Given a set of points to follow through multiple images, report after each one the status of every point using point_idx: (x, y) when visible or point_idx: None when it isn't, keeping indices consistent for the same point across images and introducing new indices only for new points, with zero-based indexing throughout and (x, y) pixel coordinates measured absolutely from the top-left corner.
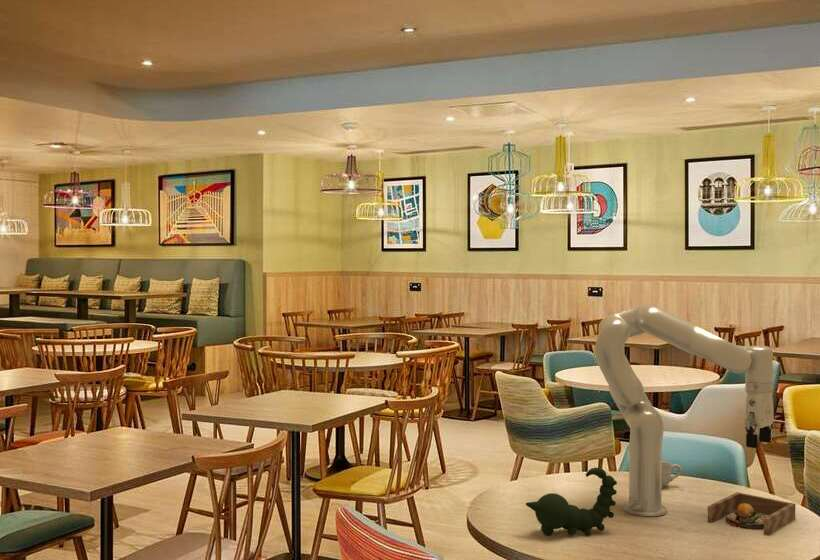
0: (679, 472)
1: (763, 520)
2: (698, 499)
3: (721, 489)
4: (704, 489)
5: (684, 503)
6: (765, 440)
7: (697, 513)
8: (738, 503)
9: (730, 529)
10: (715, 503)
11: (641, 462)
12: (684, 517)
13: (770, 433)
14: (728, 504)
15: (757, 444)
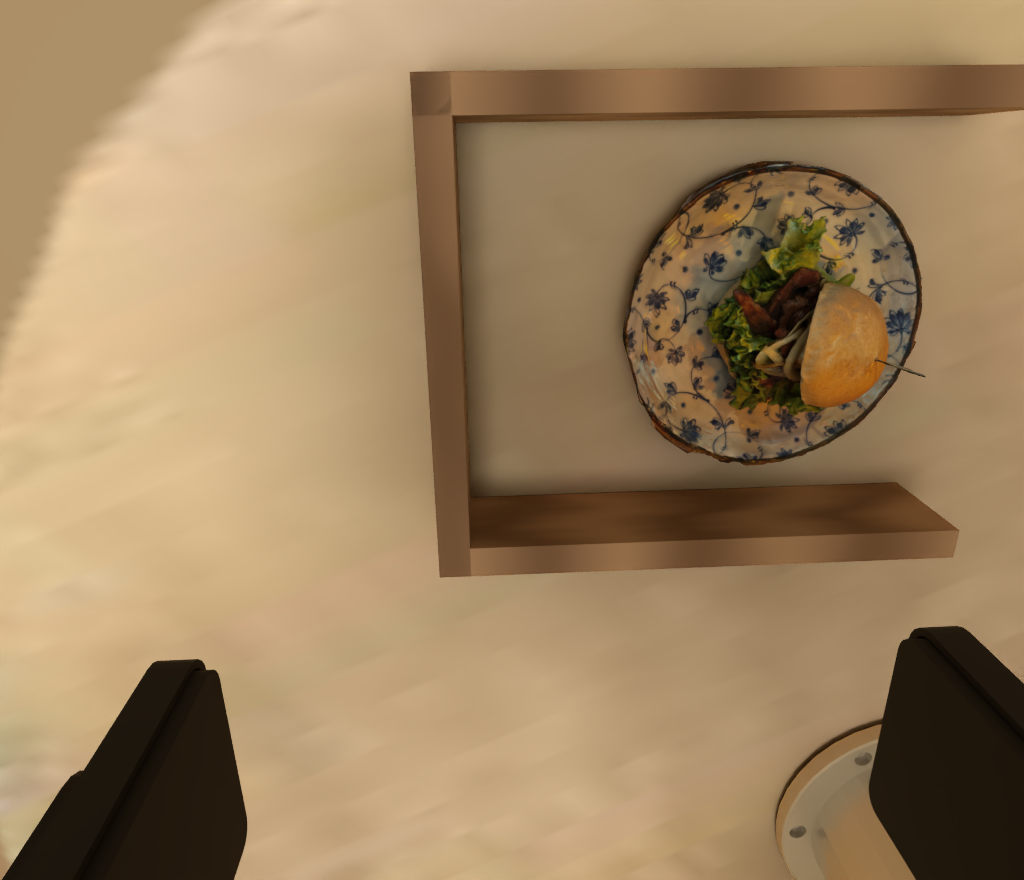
0: None
1: (681, 240)
2: (467, 736)
3: None
4: None
5: (608, 747)
6: (217, 762)
7: (757, 617)
8: (480, 513)
9: (971, 338)
10: (847, 552)
11: None
12: (883, 629)
13: (67, 844)
14: (658, 521)
15: (980, 670)
